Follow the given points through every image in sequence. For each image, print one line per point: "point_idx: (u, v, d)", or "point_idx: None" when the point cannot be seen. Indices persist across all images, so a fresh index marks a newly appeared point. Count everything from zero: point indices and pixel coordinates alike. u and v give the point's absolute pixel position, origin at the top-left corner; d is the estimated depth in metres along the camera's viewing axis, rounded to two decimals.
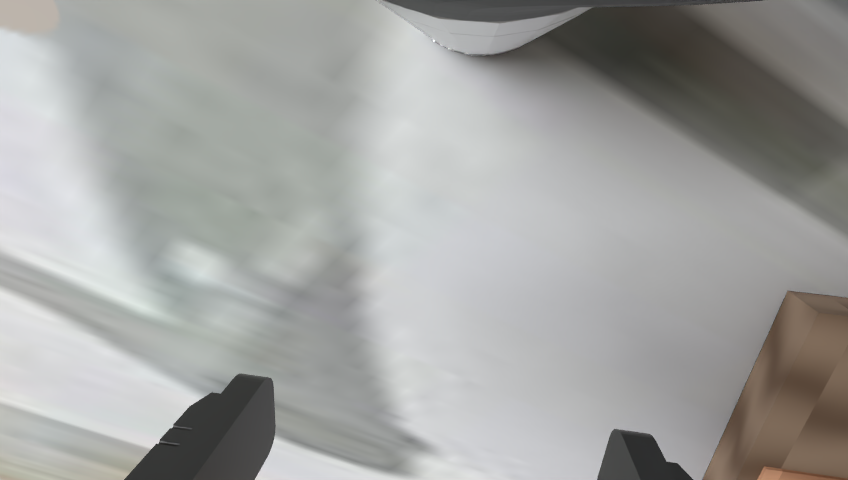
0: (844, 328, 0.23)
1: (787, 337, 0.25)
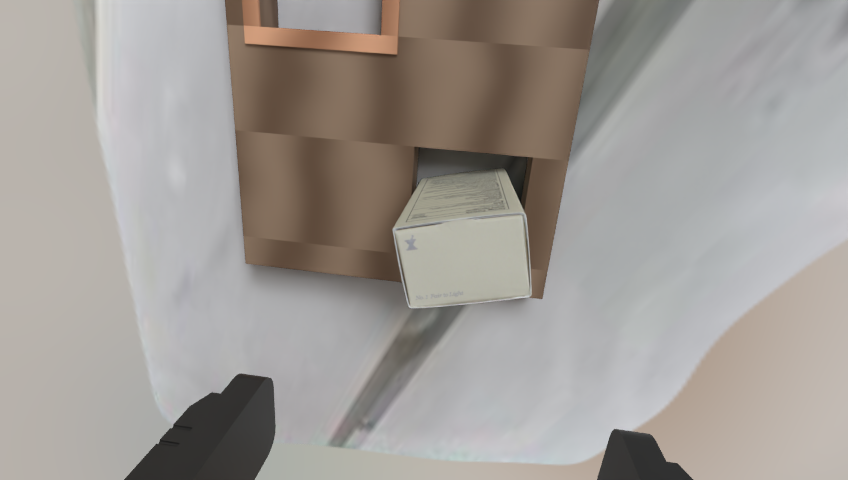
0: None
1: None
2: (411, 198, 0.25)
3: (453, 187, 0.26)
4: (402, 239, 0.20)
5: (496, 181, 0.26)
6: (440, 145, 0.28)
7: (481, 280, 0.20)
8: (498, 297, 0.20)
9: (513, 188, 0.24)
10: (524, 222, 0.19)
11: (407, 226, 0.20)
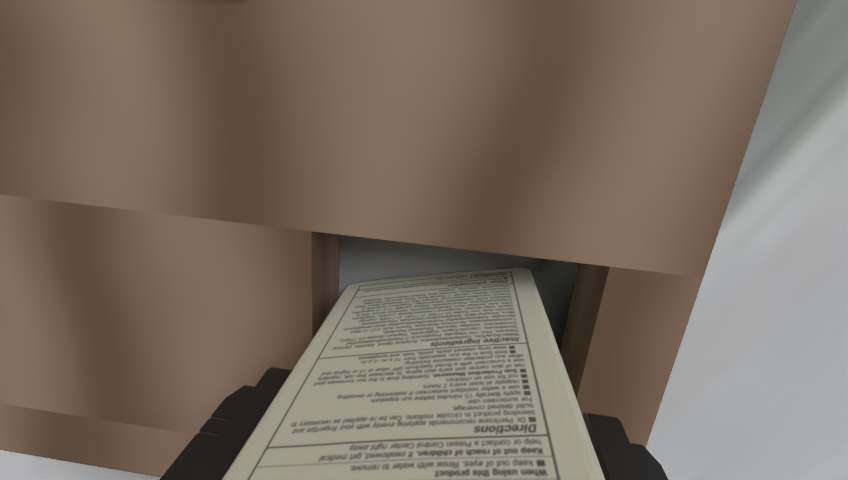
0: None
1: None
2: (267, 414, 0.08)
3: (398, 363, 0.09)
4: None
5: (518, 350, 0.09)
6: (375, 230, 0.11)
7: None
8: None
9: (581, 417, 0.07)
10: None
11: None
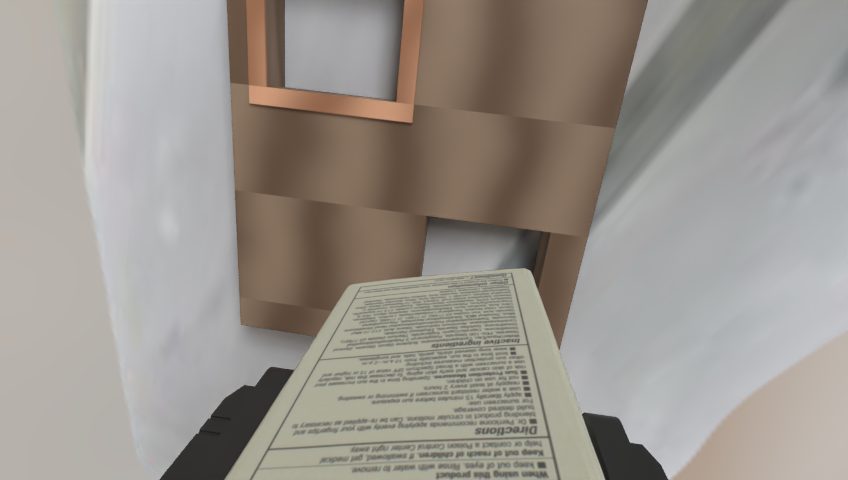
0: None
1: None
2: (268, 416, 0.08)
3: (399, 364, 0.09)
4: None
5: (519, 352, 0.09)
6: (454, 215, 0.26)
7: None
8: None
9: (582, 419, 0.07)
10: None
11: None
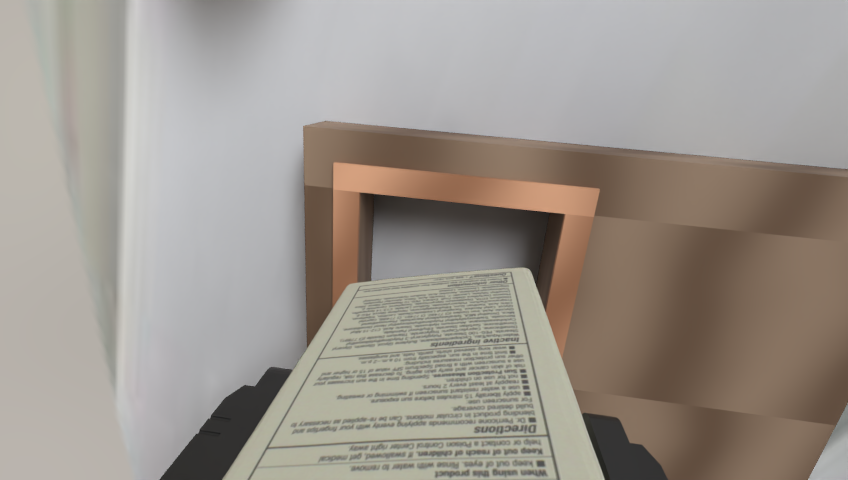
0: None
1: None
2: (267, 414, 0.08)
3: (398, 363, 0.09)
4: None
5: (518, 350, 0.09)
6: None
7: None
8: None
9: (581, 418, 0.07)
10: None
11: None
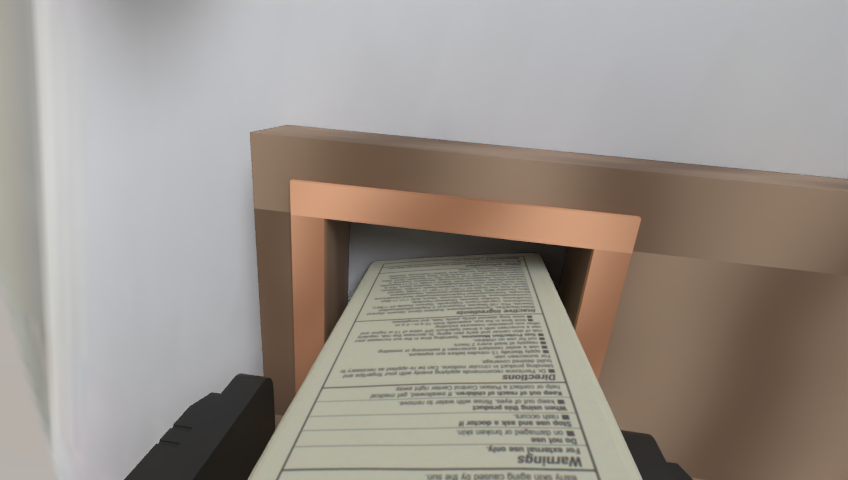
0: None
1: None
2: (317, 363, 0.10)
3: (429, 326, 0.11)
4: None
5: (535, 319, 0.10)
6: None
7: None
8: None
9: (592, 371, 0.09)
10: None
11: None
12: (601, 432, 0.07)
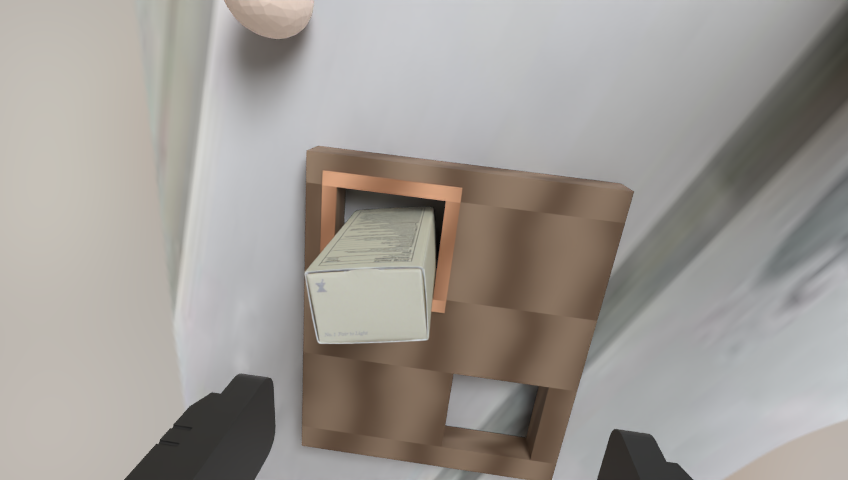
0: (616, 213, 0.29)
1: (592, 183, 0.29)
2: (336, 235, 0.27)
3: (377, 226, 0.28)
4: (313, 282, 0.22)
5: (417, 224, 0.28)
6: (474, 374, 0.34)
7: (384, 323, 0.22)
8: (399, 338, 0.22)
9: (428, 234, 0.26)
10: (423, 275, 0.21)
11: (318, 271, 0.21)
12: (421, 242, 0.24)
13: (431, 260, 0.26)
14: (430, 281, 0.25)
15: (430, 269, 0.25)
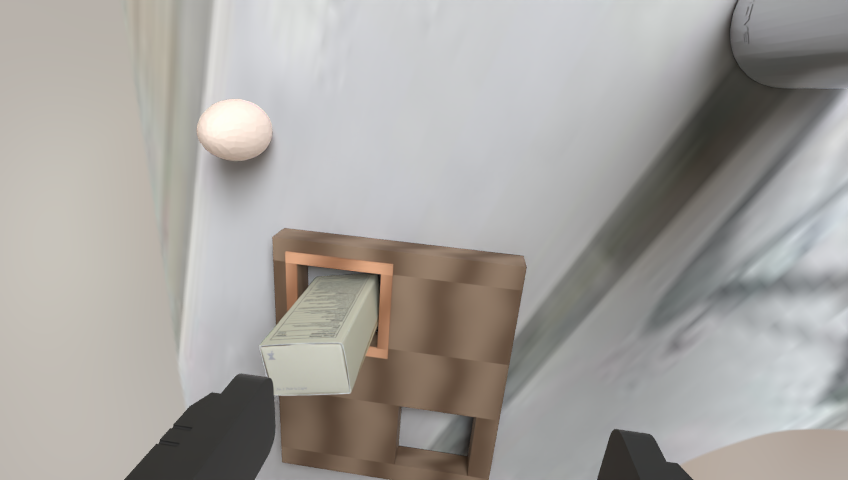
0: (514, 283, 0.36)
1: (497, 258, 0.37)
2: (292, 306, 0.35)
3: (325, 297, 0.36)
4: (265, 352, 0.30)
5: (356, 295, 0.36)
6: (416, 406, 0.42)
7: (318, 381, 0.30)
8: (330, 392, 0.30)
9: (360, 307, 0.34)
10: (342, 348, 0.29)
11: (268, 345, 0.30)
12: (350, 316, 0.32)
13: (363, 326, 0.34)
14: (359, 345, 0.33)
15: (360, 335, 0.33)
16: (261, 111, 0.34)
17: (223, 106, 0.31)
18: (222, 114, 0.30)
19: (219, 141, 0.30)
